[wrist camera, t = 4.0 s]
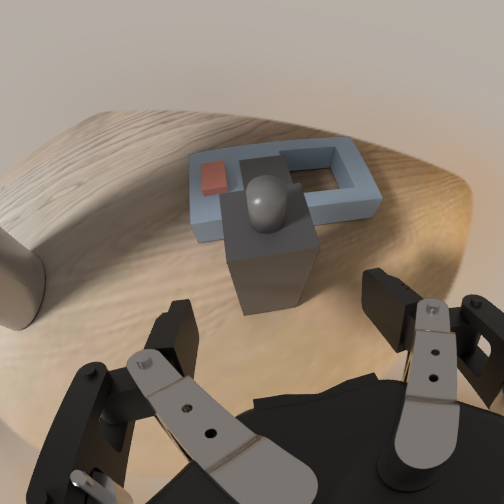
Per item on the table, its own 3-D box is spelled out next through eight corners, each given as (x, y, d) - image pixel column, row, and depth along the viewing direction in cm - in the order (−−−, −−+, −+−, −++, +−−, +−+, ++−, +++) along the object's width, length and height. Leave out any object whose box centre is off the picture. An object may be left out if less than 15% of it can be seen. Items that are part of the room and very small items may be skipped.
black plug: (244, 315, 20) (219, 238, 10) (237, 272, 22) (212, 165, 11) (296, 307, 20) (329, 221, 10) (287, 264, 22) (304, 153, 11)
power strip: (198, 242, 23) (187, 218, 20) (195, 174, 27) (187, 148, 23) (372, 217, 24) (386, 192, 20) (344, 156, 27) (351, 130, 24)
